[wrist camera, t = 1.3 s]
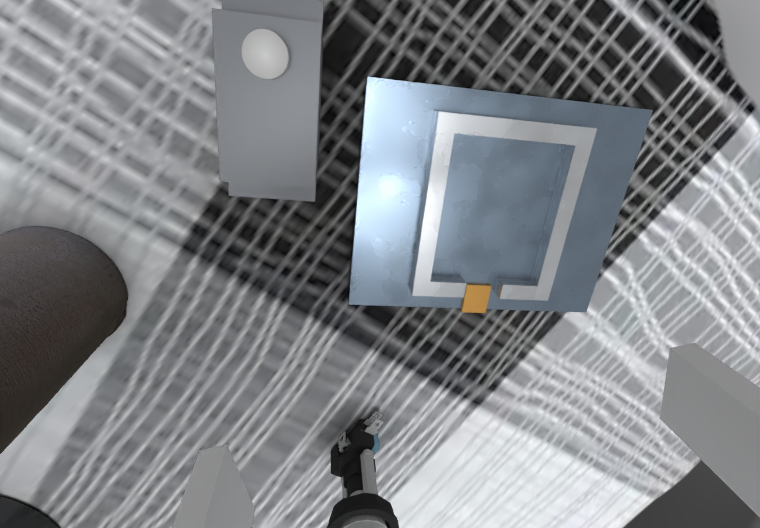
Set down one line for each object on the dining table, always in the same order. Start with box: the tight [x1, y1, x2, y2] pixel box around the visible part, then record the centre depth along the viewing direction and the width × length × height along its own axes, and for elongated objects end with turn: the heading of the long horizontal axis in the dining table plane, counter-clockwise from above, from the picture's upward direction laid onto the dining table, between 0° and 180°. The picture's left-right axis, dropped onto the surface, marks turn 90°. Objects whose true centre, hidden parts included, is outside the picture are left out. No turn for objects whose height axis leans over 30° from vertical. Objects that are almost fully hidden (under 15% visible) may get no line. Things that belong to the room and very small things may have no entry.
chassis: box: [348, 77, 653, 313], centre depth 30 cm, size 20×16×2 cm
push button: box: [327, 411, 399, 528], centre depth 33 cm, size 7×5×10 cm
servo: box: [212, 0, 324, 202], centre depth 22 cm, size 4×9×10 cm, turn 174°
